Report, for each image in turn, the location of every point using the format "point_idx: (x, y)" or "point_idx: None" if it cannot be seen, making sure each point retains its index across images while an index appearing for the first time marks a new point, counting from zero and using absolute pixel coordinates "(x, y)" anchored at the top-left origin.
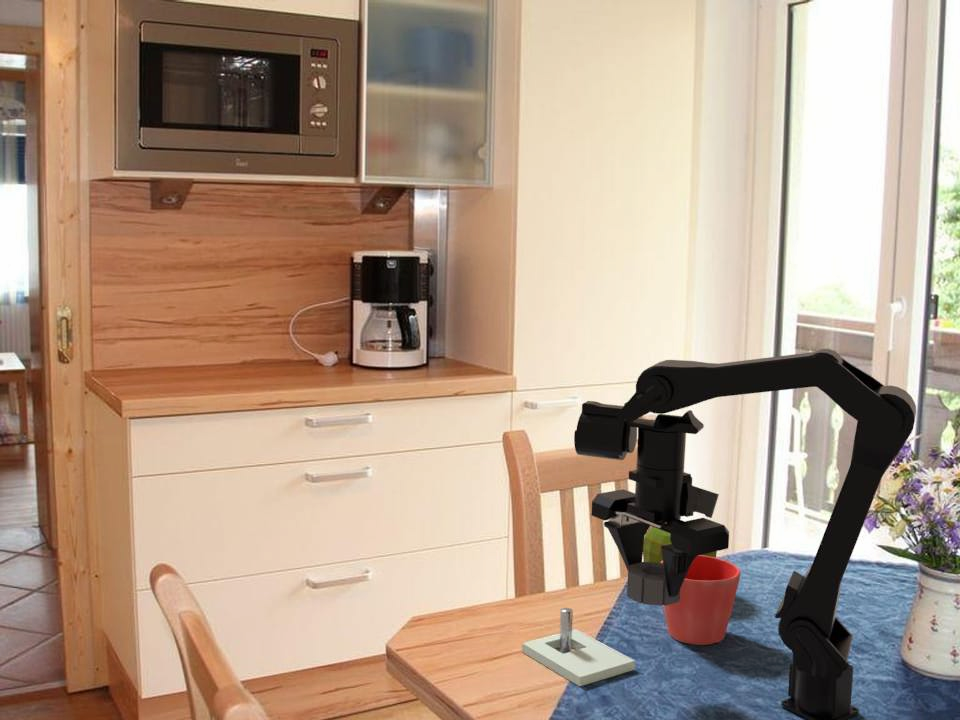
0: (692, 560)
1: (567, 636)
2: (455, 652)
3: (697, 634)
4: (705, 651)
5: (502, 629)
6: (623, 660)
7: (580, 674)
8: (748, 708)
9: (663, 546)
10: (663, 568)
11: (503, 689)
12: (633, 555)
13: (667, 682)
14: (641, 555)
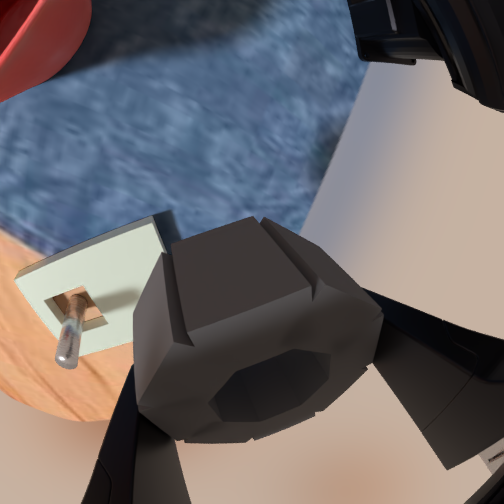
0: (493, 343)
1: (82, 327)
2: (83, 395)
3: (77, 42)
4: (114, 39)
5: (12, 347)
6: (147, 243)
7: None
8: (345, 104)
9: (453, 465)
10: (257, 361)
11: None
12: (165, 466)
13: (218, 177)
14: (142, 446)
